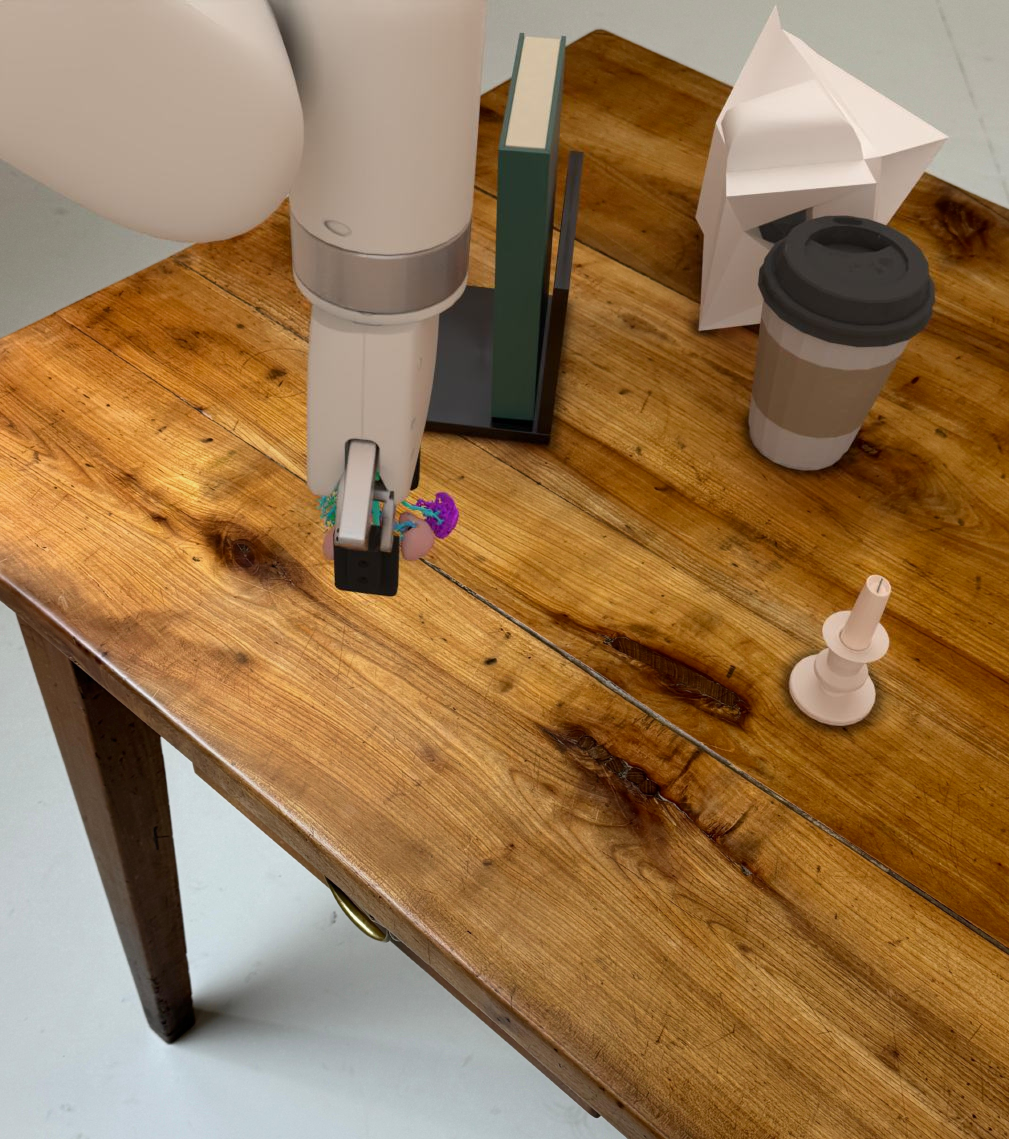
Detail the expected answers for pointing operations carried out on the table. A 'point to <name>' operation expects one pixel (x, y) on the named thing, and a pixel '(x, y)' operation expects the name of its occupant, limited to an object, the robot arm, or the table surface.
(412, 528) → the anatomy model
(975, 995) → the table surface
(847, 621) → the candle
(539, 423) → the book stand
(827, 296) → the coffee cup
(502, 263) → the book
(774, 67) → the folded paper
